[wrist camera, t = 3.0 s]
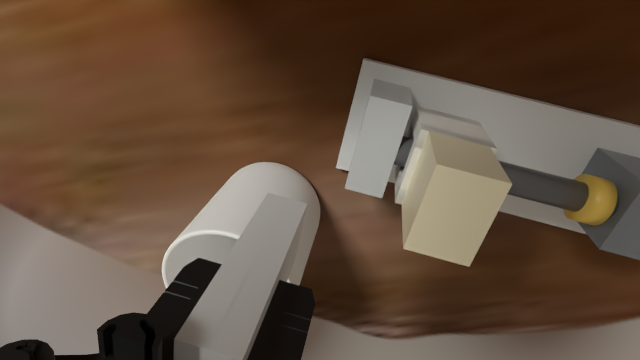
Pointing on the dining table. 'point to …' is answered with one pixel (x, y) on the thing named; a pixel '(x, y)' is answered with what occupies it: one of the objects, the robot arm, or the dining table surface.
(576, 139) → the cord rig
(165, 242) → the dining table surface
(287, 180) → the cup
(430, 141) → the sleeve
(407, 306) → the dining table surface
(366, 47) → the dining table surface
